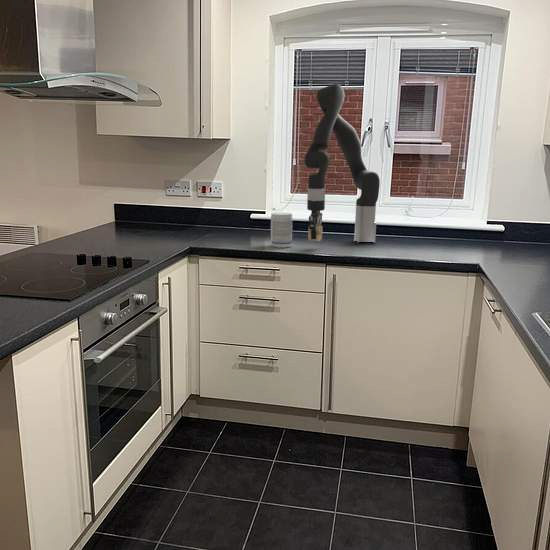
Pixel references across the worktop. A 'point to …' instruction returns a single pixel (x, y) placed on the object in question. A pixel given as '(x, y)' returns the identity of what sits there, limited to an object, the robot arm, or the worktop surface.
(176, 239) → the worktop surface
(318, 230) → the oak block
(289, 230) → the supplement tub
